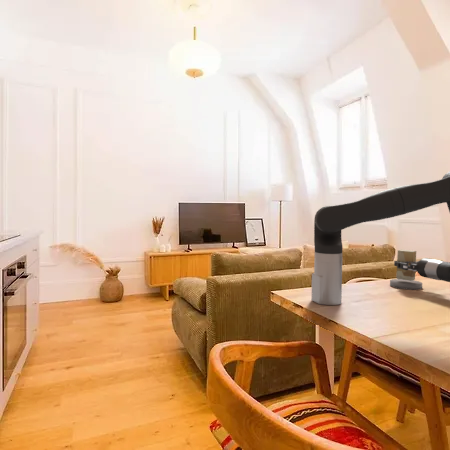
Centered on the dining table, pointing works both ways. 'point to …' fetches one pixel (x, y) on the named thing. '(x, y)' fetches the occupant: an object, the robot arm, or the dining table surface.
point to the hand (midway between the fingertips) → (402, 263)
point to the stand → (406, 284)
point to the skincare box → (409, 256)
